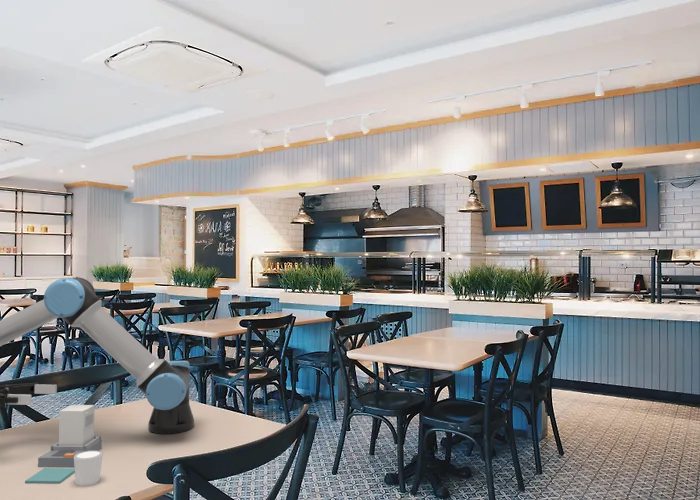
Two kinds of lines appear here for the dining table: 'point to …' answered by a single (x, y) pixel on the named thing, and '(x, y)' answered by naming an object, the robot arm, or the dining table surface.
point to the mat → (51, 475)
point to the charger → (76, 425)
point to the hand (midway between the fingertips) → (44, 394)
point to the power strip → (67, 453)
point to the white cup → (87, 467)
